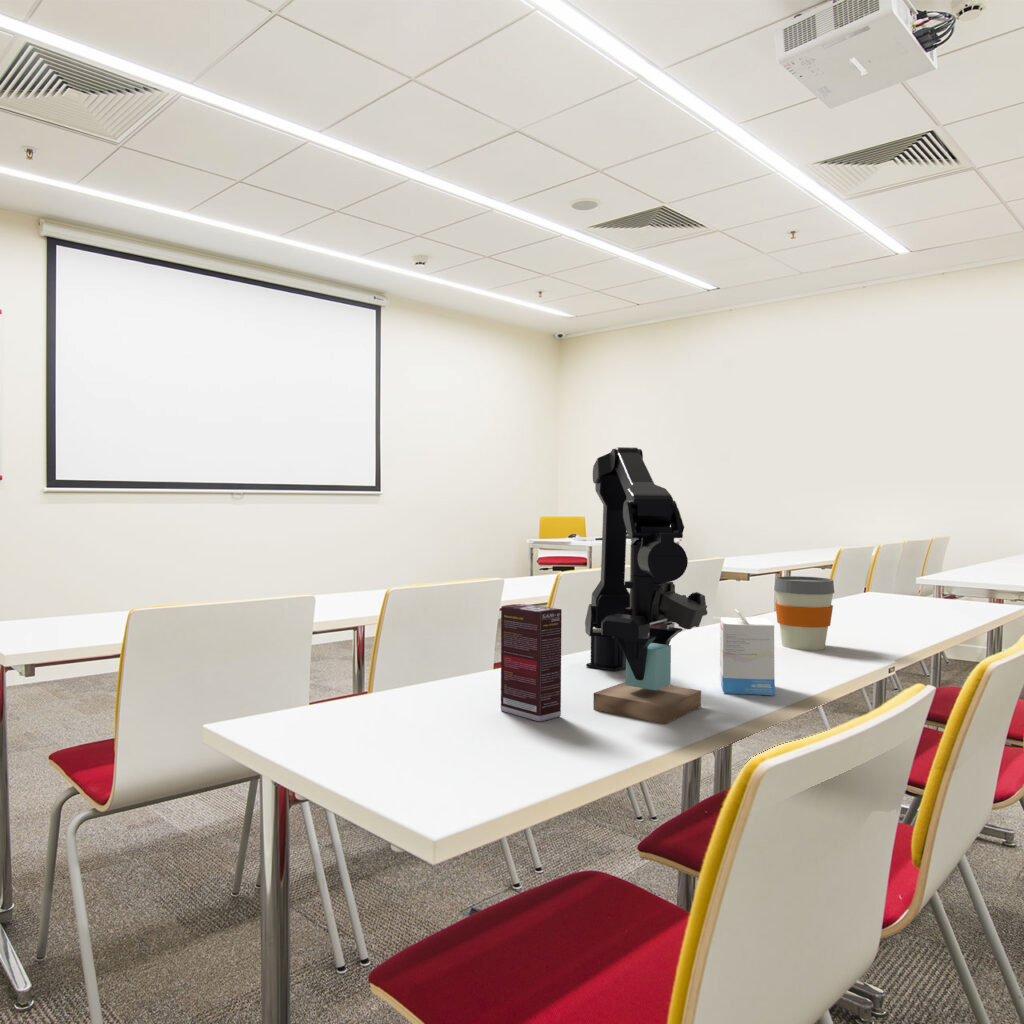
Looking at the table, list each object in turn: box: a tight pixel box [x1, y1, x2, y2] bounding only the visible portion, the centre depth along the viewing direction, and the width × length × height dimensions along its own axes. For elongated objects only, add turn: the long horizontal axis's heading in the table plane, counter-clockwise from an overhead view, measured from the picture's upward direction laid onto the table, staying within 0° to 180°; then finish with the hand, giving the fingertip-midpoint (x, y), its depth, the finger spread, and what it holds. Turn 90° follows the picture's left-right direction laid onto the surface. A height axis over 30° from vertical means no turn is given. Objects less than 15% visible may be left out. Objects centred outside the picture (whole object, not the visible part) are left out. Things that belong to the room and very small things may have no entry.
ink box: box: [719, 607, 776, 696], centre depth 131 cm, size 9×8×13 cm
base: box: [592, 681, 702, 725], centre depth 118 cm, size 12×12×2 cm
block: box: [625, 643, 672, 690], centre depth 118 cm, size 5×5×6 cm
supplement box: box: [500, 603, 562, 722], centre depth 114 cm, size 9×5×16 cm, turn 43°
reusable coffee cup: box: [773, 575, 835, 651], centre depth 171 cm, size 13×13×15 cm
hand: (647, 676), depth 118 cm, fingers closed on block, 5 cm apart
